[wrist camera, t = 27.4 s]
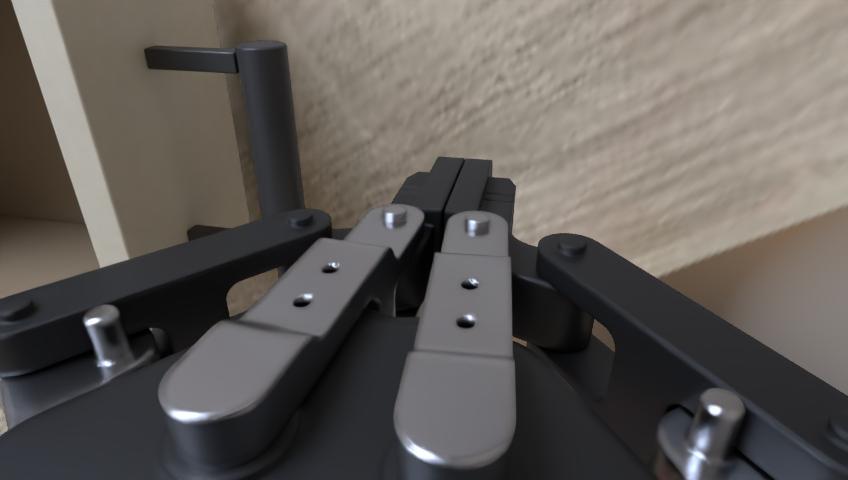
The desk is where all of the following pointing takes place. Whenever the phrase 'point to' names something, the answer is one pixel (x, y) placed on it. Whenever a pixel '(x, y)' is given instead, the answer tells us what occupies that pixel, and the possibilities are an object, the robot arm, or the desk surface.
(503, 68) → the desk surface
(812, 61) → the desk surface
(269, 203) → the drawer
